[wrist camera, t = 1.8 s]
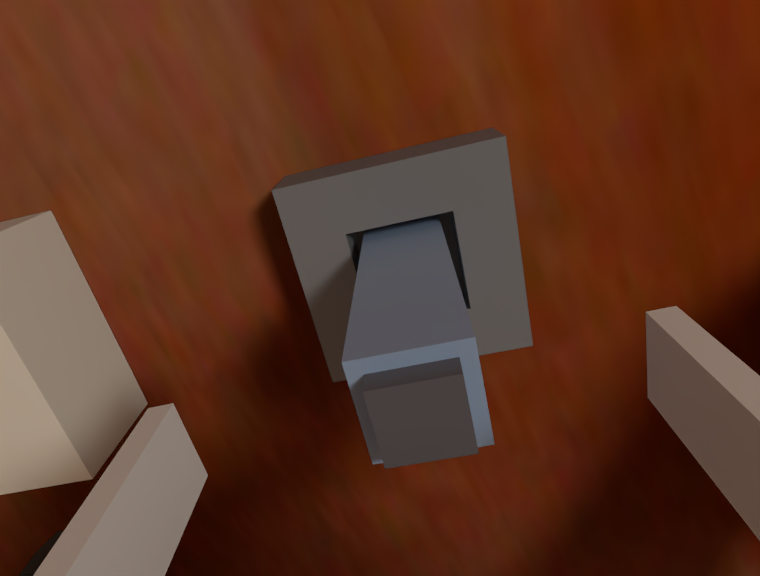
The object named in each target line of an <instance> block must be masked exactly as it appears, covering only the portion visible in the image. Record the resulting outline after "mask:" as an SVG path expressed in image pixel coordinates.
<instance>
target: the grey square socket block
mask: <svg viewBox="0 0 760 576" xmlns="http://www.w3.org/2000/svg"><path fill="white" fill-rule="evenodd" d="M271 191H272V194H273V197H274V200H275V203H276V206H277V209H278V212H279V216H280V219H281V222H282V225H283V228H284V231H285V234H286V237H287V241H288V244H289V247H290V250H291V253H292V256H293V259H294V262H295V266H296V269H297V272H298V275H299V278H300V281H301V284H302V287H303V291H304V294H305V297H306V300H307V303H308V306H309V309H310V312H311V316H312V319H313V322H314V325H315V328H316V331H317V334H318V337H319V341H320V344H321V347H322V350H323V353H324V356H325V359H326V362H327V365H328V369H329V372H330V375H331V378H332V381H333V382H338V381H344V380H347V379H346V376H345V372H344V369H343V366H342V356H343V351H344V345H345V339H346V333H347V328H348V322H349V316H350V310H351V305H352V299H353V293H354V287H355V282H356V276H357V270H358V264H359V259H360V253H361V247H362V241H363V236H364V230H368V229H372V228H377V227H382V226H386V225H391V224H395V223H400V222H405V221H409V220H414V219H418V218H423V217H427V216H432V215H437V214H438V216H439V219H440V222H441V226H442V229H443V232H444V235H445V239H446V242H447V245H448V249H449V252H450V255H451V259H452V262H453V265H454V268H455V272H456V275H457V278H458V282H459V285H460V288H461V292H462V295H463V298H464V302H465V305H466V308H467V311H468V315H469V318H470V321H471V325H472V328H473V331H474V335H475V338H476V344H477V350H478V355H485V354H490V353H496V352H501V351H506V350H512V349H517V348H523V347H528V346H533V343H532V335H531V327H530V319H529V312H528V304H527V296H526V289H525V281H524V273H523V265H522V258H521V250H520V242H519V235H518V227H517V219H516V211H515V204H514V196H513V188H512V181H511V173H510V165H509V157H508V150H507V142H506V136H505V135H503V134H502V133H500V132H499V131H497V130H495V129H494V128H489V129H484V130H480V131H476V132H472V133H467V134H463V135H459V136H455V137H450V138H446V139H442V140H438V141H433V142H429V143H425V144H420V145H416V146H412V147H408V148H403V149H399V150H395V151H391V152H386V153H382V154H378V155H374V156H369V157H365V158H361V159H357V160H352V161H348V162H344V163H339V164H335V165H331V166H327V167H322V168H318V169H314V170H310V171H305V172H301V173H297V174H293V175H288V176H285V177H284V178H283V179H282V180H281V181H280V182H279V183H278V184H277V185H276V186H275V187H274V188H273V189H272V190H271Z"/></svg>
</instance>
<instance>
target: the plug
mask: <svg viewBox="0 0 760 576" xmlns="http://www.w3.org/2000/svg"><path fill="white" fill-rule="evenodd" d="M342 366H343V369H344V372H345V376H346V379H347V382H348V385H349V389H350V392H351V395H352V398H353V402H354V405H355V408H356V411H357V415H358V418H359V421H360V424H361V428H362V431H363V434H364V438H365V441H366V444H367V447H368V451H369V454H370V457H371V460H372V464H378V463H384V467H385V469H386V468H392V467H399V466H405V465H411V464H417V463H423V462H429V461H435V460H442V459H448V458H454V457H460V456H466V455H472V454H478V453H479V451H478V447H482V446H488V445H494V438H493V433H492V427H491V422H490V416H489V411H488V405H487V400H486V394H485V388H484V383H483V377H482V372H481V366H480V361H479V355H478V350H477V344H476V338H475V335H474V331H473V328H472V325H471V321H470V318H469V315H468V311H467V308H466V305H465V302H464V298H463V295H462V292H461V288H460V285H459V282H458V278H457V275H456V272H455V268H454V265H453V262H452V259H451V255H450V252H449V249H448V245H447V242H446V239H445V235H444V232H443V229H442V226H441V222H440V219H439V216H438V214H437V215H432V216H427V217H423V218H418V219H414V220H409V221H405V222H400V223H395V224H391V225H386V226H382V227H377V228H372V229H368V230H364V236H363V241H362V247H361V253H360V259H359V264H358V270H357V276H356V282H355V287H354V293H353V299H352V305H351V310H350V316H349V322H348V328H347V333H346V339H345V345H344V351H343V356H342Z"/></svg>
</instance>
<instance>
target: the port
mask: <svg viewBox="0 0 760 576" xmlns="http://www.w3.org/2000/svg"><path fill="white" fill-rule="evenodd" d="M147 404H148V403H147V401H146V399H145V397H144V395H143V393H142V391H141V389H140V387H139V385H138V383H137V381H136V379H135V377H134V375H133V373H132V371H131V369H130V367H129V365H128V363H127V361H126V359H125V357H124V355H123V353H122V351H121V349H120V347H119V345H118V343H117V341H116V339H115V337H114V335H113V333H112V331H111V329H110V327H109V325H108V323H107V321H106V319H105V317H104V315H103V313H102V311H101V309H100V307H99V305H98V303H97V301H96V299H95V297H94V295H93V293H92V291H91V289H90V287H89V285H88V283H87V281H86V279H85V277H84V275H83V273H82V271H81V269H80V267H79V265H78V263H77V261H76V259H75V257H74V255H73V253H72V251H71V249H70V247H69V245H68V243H67V241H66V239H65V237H64V235H63V233H62V231H61V229H60V227H59V225H58V223H57V221H56V219H55V217H54V215H53V214H52V212H51V210H50V211H46V212H41V213H37V214H33V215H29V216H25V217H21V218H16V219H12V220H8V221H4V222H0V495H3V494H8V493H14V492H20V491H26V490H32V489H38V488H43V487H49V486H55V485H61V484H67V483H73V482H78V481H84V480H90V479H93V478H94V477H95V475H96V474H97V473H98V471H99V470H100V468H101V467H102V466H103V464H104V463H105V462H106V460H107V459H108V457H109V456H110V455H111V453H112V452H113V451H114V449H115V448H116V446H117V445H118V444H119V442H120V441H121V440H122V438H123V437H124V435H125V434H126V433H127V431H128V430H129V428H130V427H131V426H132V424H133V423H134V422H135V420H136V419H137V417H138V416H139V415H140V413H141V412H142V411H143V409H144V408H145V406H146V405H147Z"/></svg>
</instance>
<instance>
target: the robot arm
mask: <svg viewBox="0 0 760 576" xmlns="http://www.w3.org/2000/svg"><path fill="white" fill-rule="evenodd" d="M646 345H647V388H648V399H649V400H650V401H651V402H652V404H653V405H654V406H655V408H656V409H657V410H658V411H659V413H660V414H661V415H662V417H663V418H664V419H665V420H666V422H667V423H668V424H669V425H670V427H671V428H672V429H673V431H674V432H675V433H676V434H677V436H678V437H679V438H680V440H681V441H682V442H683V443H684V445H685V446H686V447H687V448H688V450H689V451H690V452H691V454H692V455H693V456H694V457H695V459H696V460H697V461H698V463H699V464H700V465H701V466H702V468H703V469H704V470H705V472H706V473H707V474H708V475H709V477H710V478H711V479H712V480H713V482H714V483H715V484H716V486H717V487H718V488H719V489H720V491H721V492H722V493H723V495H724V496H725V497H726V498H727V500H728V501H729V502H730V503H731V505H732V506H733V507H734V509H735V510H736V511H737V512H738V514H739V515H740V516H741V518H742V519H743V520H744V521H745V523H746V524H747V525H748V526H749V528H750V529H751V530H752V532H753V533H754V534H755V535H756V537H757V538H758V539H759V541H760V376H759V375H758V374H757V373H756V372H755V371H753V370H752V369H751V368H750V367H749V366H747V365H746V364H745V363H744V362H743V361H741V360H740V359H739V358H738V357H737V356H735V355H734V354H733V353H732V352H731V351H729V350H728V349H727V348H726V347H725V346H723V345H722V344H721V343H720V342H719V341H718V340H716V339H715V338H714V337H713V336H712V335H710V334H709V333H708V332H707V331H706V330H704V329H703V328H702V327H701V326H700V325H698V324H697V323H696V322H695V321H694V320H692V319H691V318H690V317H689V316H688V315H686V314H685V313H684V312H683V311H682V310H680V309H679V308H678V307H677V306H674V307H668V308H663V309H658V310H653V311H648V312H646ZM207 476H208V474H207V472H206V470H205V468H204V466H203V464H202V462H201V460H200V458H199V456H198V454H197V452H196V450H195V448H194V446H193V443H192V441H191V439H190V437H189V435H188V433H187V431H186V429H185V427H184V425H183V423H182V421H181V419H180V417H179V415H178V413H177V410H176V408H175V406H174V404H173V403H172V404H167V405H162V406H157V407H152V408H148V409H147V411H146V412H145V414H144V415H143V416H142V418H141V419H140V421H139V422H138V424H137V425H136V427H135V428H134V430H133V431H132V432H131V434H130V435H129V437H128V438H127V440H126V441H125V443H124V444H123V446H122V447H121V448H120V450H119V451H118V453H117V454H116V456H115V457H114V459H113V460H112V462H111V463H110V464H109V466H108V467H107V469H106V470H105V472H104V473H103V475H102V476H101V478H100V479H99V480H98V482H97V483H96V485H95V486H94V488H93V489H92V491H91V492H90V494H89V495H88V497H87V498H86V499H85V501H84V502H83V504H82V505H81V507H80V508H79V510H78V511H77V513H76V514H75V515H74V517H73V518H72V520H71V521H70V523H69V524H68V526H67V527H66V529H65V530H64V531H60V532H57V533H56V534H55V535H54V536H53V537H52V538H51V539H50V540H48V541H47V542H46V543H45V544H44V545H43V546H42V547H41V548H40V549H39V550H38V551H37V552H36V553H35V554H34V556H33V557H32V558H31V560H30V561H29V563H28V564H27V565H26V567H25V568H24V570H23V571H22V572H21V574H20V576H165V574H166V572H167V569H168V567H169V565H170V562H171V560H172V558H173V555H174V553H175V551H176V549H177V546H178V544H179V542H180V539H181V537H182V535H183V532H184V530H185V528H186V525H187V523H188V521H189V518H190V516H191V514H192V511H193V509H194V507H195V504H196V502H197V500H198V497H199V495H200V493H201V490H202V488H203V486H204V483H205V481H206V479H207Z"/></svg>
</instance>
